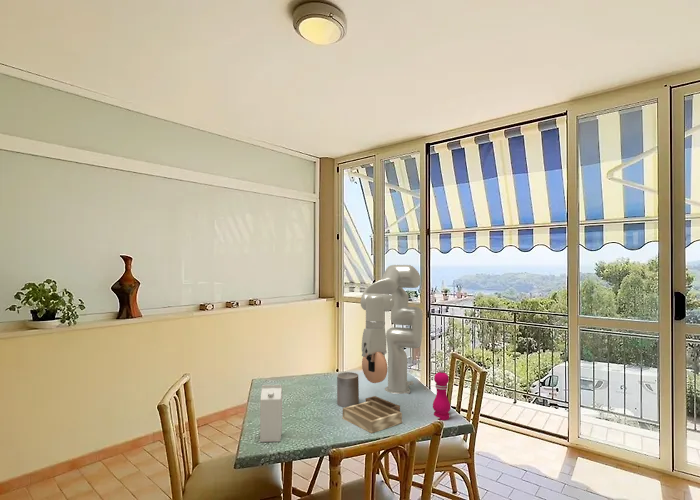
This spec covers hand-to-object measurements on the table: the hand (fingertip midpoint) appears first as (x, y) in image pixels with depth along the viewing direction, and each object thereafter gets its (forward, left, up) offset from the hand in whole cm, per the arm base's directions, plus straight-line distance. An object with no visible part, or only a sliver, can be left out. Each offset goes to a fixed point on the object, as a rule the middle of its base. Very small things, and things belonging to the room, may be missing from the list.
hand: (374, 370), depth 163 cm
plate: (0, 0, -5) cm, 5 cm away
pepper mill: (-24, +15, -20) cm, 35 cm away
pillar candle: (-1, -19, -20) cm, 28 cm away
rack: (+3, +2, -20) cm, 20 cm away
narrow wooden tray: (-10, -6, -20) cm, 23 cm away
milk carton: (+41, -10, -20) cm, 47 cm away
